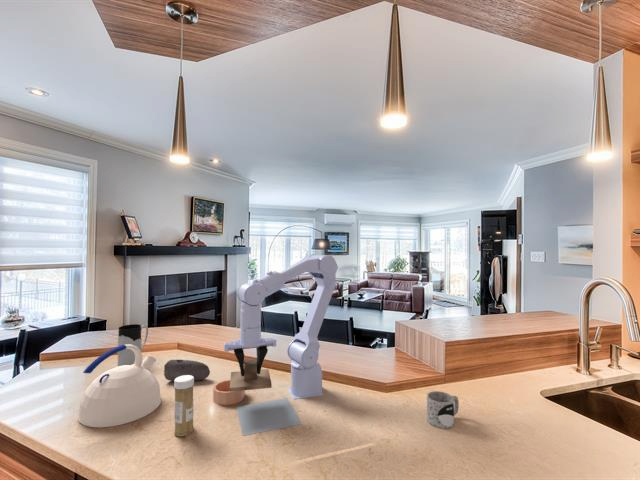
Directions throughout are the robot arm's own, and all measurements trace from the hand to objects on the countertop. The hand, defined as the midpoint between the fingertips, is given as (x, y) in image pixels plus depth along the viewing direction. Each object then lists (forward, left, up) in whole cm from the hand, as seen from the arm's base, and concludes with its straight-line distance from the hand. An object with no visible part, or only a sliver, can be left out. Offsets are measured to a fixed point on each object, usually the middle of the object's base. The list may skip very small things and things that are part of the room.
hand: (250, 373), depth 93 cm
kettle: (+34, -13, -10) cm, 38 cm away
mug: (-48, +24, -10) cm, 54 cm away
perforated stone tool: (+17, -27, -10) cm, 34 cm away
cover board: (0, 0, -2) cm, 2 cm away
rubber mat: (-4, +6, -10) cm, 12 cm away
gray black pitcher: (+37, -51, -10) cm, 64 cm away
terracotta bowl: (+5, -8, -10) cm, 14 cm away
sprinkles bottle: (+17, +6, -10) cm, 21 cm away
